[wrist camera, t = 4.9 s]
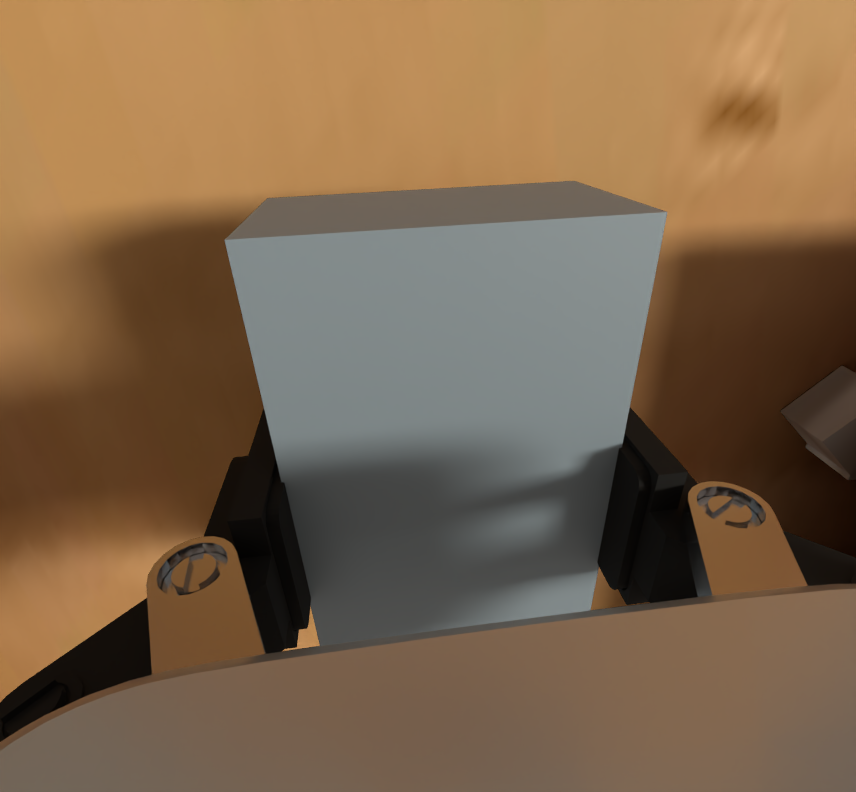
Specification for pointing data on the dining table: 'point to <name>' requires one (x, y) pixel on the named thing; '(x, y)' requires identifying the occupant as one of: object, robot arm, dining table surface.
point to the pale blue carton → (447, 392)
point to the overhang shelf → (829, 420)
